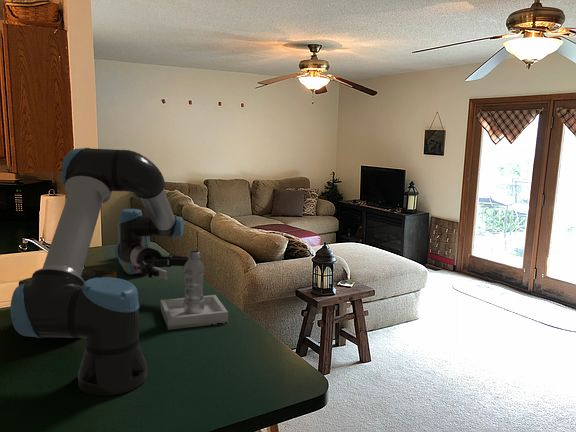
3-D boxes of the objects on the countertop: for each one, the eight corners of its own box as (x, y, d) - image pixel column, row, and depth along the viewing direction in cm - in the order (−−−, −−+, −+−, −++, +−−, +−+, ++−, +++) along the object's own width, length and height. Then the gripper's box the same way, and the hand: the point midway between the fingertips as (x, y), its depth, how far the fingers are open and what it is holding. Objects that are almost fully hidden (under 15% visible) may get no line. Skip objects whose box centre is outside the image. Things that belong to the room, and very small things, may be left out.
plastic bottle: (208, 313, 148) (209, 251, 145) (191, 318, 143) (191, 255, 140) (196, 307, 153) (196, 247, 149) (179, 312, 148) (178, 251, 144)
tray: (227, 322, 144) (228, 311, 144) (168, 329, 137) (168, 318, 137) (215, 304, 159) (215, 294, 158) (160, 310, 152) (160, 300, 151)
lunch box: (154, 276, 187) (154, 223, 183) (127, 279, 182) (126, 225, 178) (140, 259, 210) (139, 212, 206) (116, 261, 205) (115, 213, 201)
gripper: (176, 262, 172) (214, 275, 159) (113, 275, 153) (150, 291, 140) (176, 242, 171) (214, 253, 157) (112, 253, 152) (150, 267, 139)
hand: (184, 271), depth 149 cm, fingers open, 13 cm apart
